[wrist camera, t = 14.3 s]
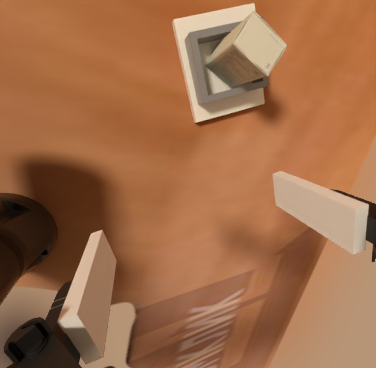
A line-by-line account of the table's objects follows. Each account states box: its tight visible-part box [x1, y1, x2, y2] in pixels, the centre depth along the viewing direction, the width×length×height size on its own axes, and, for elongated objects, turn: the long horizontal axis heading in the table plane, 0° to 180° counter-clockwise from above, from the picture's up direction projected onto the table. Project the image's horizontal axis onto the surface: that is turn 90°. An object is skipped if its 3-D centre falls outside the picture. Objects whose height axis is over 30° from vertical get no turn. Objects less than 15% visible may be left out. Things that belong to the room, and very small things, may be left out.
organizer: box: [172, 3, 269, 123], centre depth 36 cm, size 14×16×5 cm
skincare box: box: [205, 11, 287, 87], centre depth 31 cm, size 6×4×12 cm
